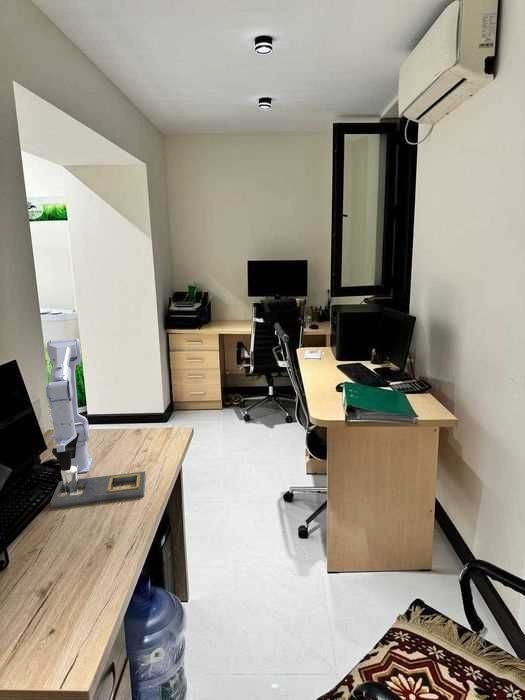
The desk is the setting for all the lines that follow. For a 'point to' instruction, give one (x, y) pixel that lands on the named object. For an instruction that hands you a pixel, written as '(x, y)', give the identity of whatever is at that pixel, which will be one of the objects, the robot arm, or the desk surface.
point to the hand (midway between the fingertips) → (69, 463)
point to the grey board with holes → (101, 490)
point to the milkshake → (70, 481)
